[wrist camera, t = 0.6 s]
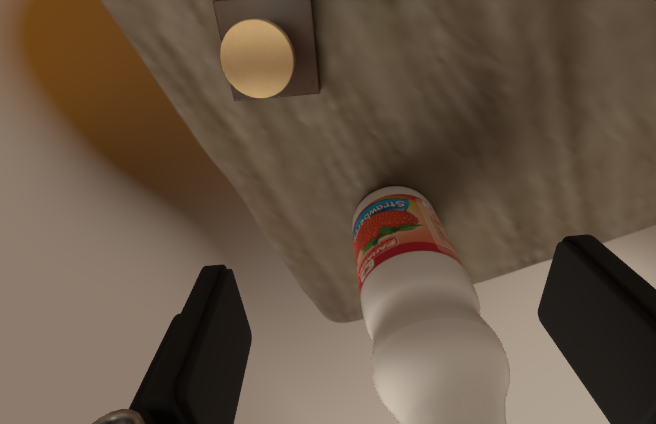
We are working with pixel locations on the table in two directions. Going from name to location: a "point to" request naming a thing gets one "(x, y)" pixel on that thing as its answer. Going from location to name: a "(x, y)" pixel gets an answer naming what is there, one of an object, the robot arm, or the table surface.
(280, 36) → the chip
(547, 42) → the table surface
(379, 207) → the white yogurt drink bottle
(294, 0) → the stand
